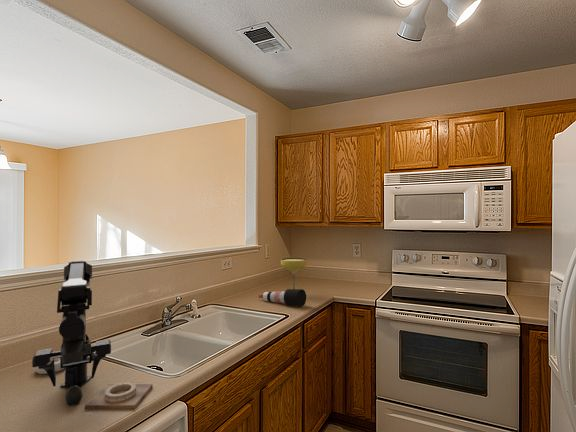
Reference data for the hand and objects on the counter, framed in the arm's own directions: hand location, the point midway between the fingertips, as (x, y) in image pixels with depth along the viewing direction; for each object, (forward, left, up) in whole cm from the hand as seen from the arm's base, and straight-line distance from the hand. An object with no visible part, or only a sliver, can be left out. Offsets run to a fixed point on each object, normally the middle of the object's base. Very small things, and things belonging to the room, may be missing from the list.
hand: (74, 381), depth 96 cm
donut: (-22, -22, -7) cm, 32 cm away
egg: (0, 0, -6) cm, 6 cm away
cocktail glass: (-136, +65, -6) cm, 151 cm away
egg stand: (-3, +12, -6) cm, 14 cm away
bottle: (-114, +56, -6) cm, 127 cm away
